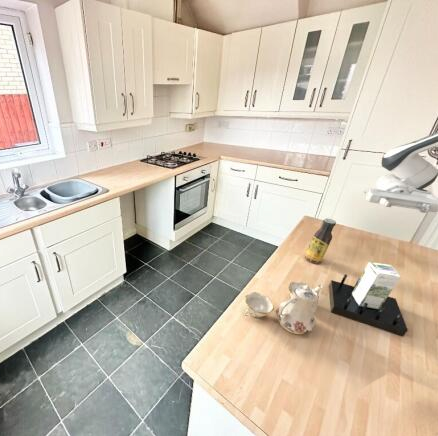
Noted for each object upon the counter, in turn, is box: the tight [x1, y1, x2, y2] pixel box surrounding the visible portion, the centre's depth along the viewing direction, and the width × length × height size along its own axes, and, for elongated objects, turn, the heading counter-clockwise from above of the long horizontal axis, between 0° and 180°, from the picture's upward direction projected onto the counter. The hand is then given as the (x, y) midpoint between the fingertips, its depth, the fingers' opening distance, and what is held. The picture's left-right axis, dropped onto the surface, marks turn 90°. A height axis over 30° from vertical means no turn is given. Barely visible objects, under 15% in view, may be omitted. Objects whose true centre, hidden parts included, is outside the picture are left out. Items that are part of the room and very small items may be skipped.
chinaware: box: [243, 281, 323, 336], centre depth 77 cm, size 28×17×17 cm, turn 111°
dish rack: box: [328, 274, 409, 337], centre depth 80 cm, size 18×14×8 cm
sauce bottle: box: [304, 218, 337, 264], centre depth 100 cm, size 7×6×20 cm
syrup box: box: [352, 261, 402, 309], centre depth 77 cm, size 6×6×14 cm
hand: (406, 207), depth 86 cm, fingers open, 8 cm apart
